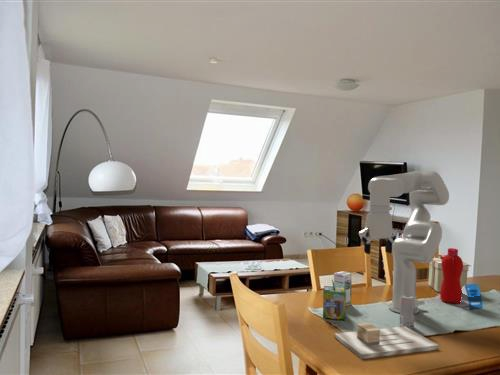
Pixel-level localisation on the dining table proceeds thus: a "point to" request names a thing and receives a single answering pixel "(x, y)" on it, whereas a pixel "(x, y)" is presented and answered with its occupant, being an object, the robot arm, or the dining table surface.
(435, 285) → the gift box
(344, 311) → the chalk box
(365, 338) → the block
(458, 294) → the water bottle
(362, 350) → the board
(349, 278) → the syrup box
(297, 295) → the dining table surface
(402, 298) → the energy drink
